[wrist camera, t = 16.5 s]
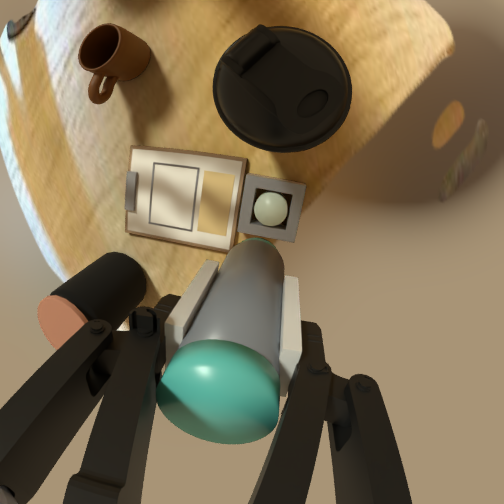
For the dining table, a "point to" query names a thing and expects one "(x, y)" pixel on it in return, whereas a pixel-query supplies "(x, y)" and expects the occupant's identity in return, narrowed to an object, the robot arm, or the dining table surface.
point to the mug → (111, 58)
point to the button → (271, 208)
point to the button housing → (272, 184)
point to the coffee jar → (93, 297)
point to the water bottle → (282, 89)
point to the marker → (231, 352)
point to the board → (184, 196)
